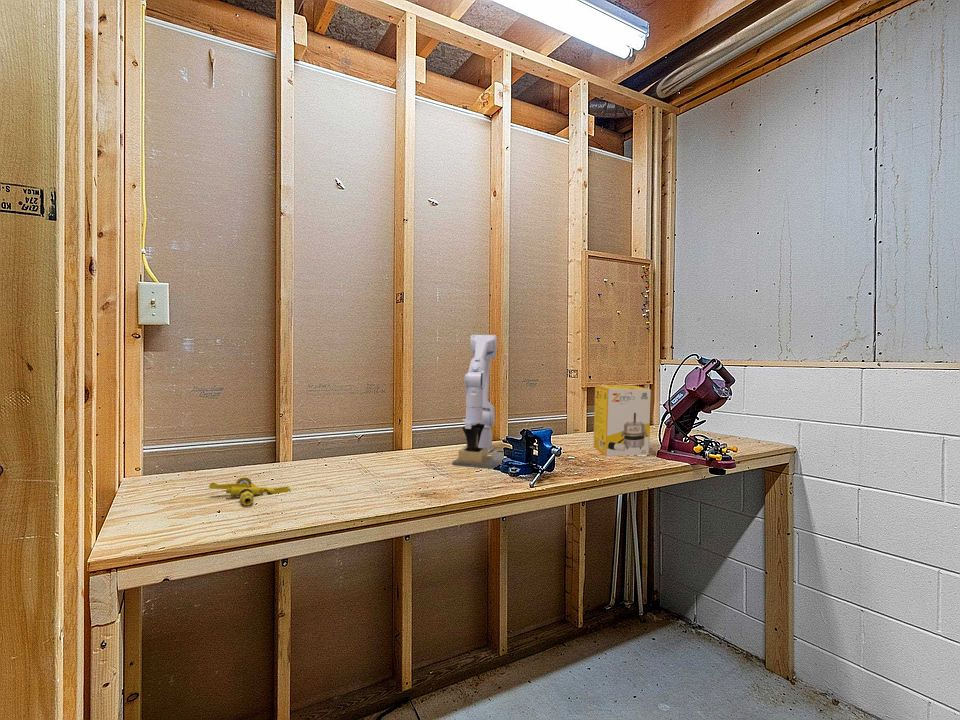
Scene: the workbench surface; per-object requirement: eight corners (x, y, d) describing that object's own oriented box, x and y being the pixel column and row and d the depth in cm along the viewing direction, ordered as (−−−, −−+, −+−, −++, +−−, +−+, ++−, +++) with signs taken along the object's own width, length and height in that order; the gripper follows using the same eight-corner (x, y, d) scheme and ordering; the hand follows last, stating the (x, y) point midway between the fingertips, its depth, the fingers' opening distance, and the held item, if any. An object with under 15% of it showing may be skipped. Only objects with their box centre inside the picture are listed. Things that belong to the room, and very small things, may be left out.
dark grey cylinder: (468, 453, 173) (468, 430, 173) (479, 453, 172) (479, 430, 172) (464, 455, 170) (464, 431, 169) (476, 456, 168) (475, 432, 168)
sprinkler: (210, 492, 117) (210, 475, 131) (208, 509, 117) (207, 490, 131) (296, 493, 127) (288, 477, 140) (294, 509, 127) (285, 491, 140)
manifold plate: (462, 457, 178) (463, 444, 178) (512, 461, 173) (512, 448, 173) (452, 465, 166) (452, 451, 166) (505, 469, 162) (505, 456, 162)
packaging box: (632, 447, 202) (634, 385, 201) (648, 456, 186) (651, 389, 185) (593, 446, 201) (595, 384, 200) (606, 456, 185) (608, 388, 184)
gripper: (469, 403, 178) (468, 441, 179) (456, 408, 164) (455, 450, 165) (488, 404, 176) (487, 443, 177) (477, 410, 162) (476, 451, 163)
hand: (473, 446), depth 171 cm, fingers closed on dark grey cylinder, 4 cm apart
